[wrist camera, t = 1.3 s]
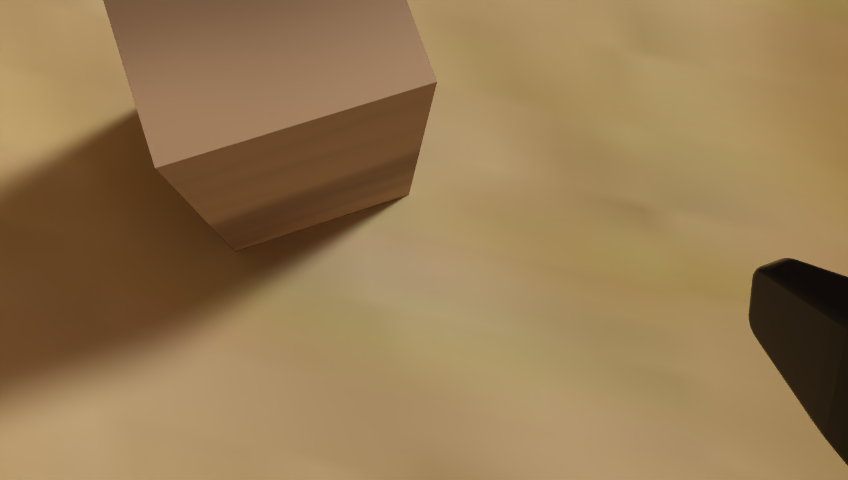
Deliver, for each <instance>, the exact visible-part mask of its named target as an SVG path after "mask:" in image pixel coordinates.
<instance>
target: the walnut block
mask: <svg viewBox="0 0 848 480" xmlns="http://www.w3.org/2000/svg"><path fill="white" fill-rule="evenodd" d="M103 1H104V4H105V7H106V11H107V14H108V17H109V20H110V24H111V27H112V30H113V33H114V37H115V40H116V43H117V46H118V50H119V53H120V56H121V59H122V63H123V66H124V69H125V72H126V76H127V79H128V82H129V85H130V89H131V92H132V95H133V98H134V102H135V105H136V108H137V111H138V115H139V118H140V121H141V124H142V128H143V131H144V134H145V138H146V141H147V144H148V147H149V151H150V154H151V157H152V160H153V164H154V167H155V169H156V170H157V171H158V172H159V173H160V174H161V175H162V176H163V177H164V178H165V179H166V180H167V181H168V182H169V183H170V184H171V185H172V187H173V188H174V189H175V190H176V191H177V192H178V193H179V194H180V195H181V196H182V197H183V198H184V199H185V200H186V201H187V202H188V203H189V204H190V205H191V206H192V207H193V208H194V209H195V210H196V212H197V213H198V214H199V215H200V216H201V217H202V218H203V219H204V220H205V221H206V222H207V223H208V224H209V225H210V226H211V227H212V228H213V229H214V230H215V231H216V232H217V233H218V234H219V235H220V237H221V238H222V239H223V240H224V241H225V242H226V243H227V244H228V245H229V246H230V247H231V248H232V249H233V250H234V251H237V250H240V249H243V248H246V247H249V246H253V245H256V244H259V243H262V242H265V241H268V240H271V239H274V238H277V237H280V236H283V235H286V234H289V233H292V232H295V231H299V230H302V229H305V228H308V227H311V226H314V225H317V224H320V223H323V222H326V221H329V220H332V219H335V218H338V217H341V216H345V215H348V214H351V213H354V212H357V211H360V210H363V209H366V208H369V207H372V206H375V205H378V204H381V203H384V202H387V201H391V200H394V199H397V198H400V197H403V196H406V195H409V192H410V187H411V183H412V179H413V175H414V171H415V167H416V163H417V159H418V155H419V151H420V147H421V143H422V139H423V135H424V131H425V127H426V123H427V119H428V115H429V111H430V107H431V103H432V99H433V95H434V91H435V87H436V83H437V81H436V78H435V76H434V73H433V70H432V68H431V65H430V62H429V59H428V57H427V54H426V51H425V49H424V46H423V43H422V41H421V38H420V35H419V33H418V30H417V27H416V25H415V22H414V19H413V17H412V14H411V11H410V9H409V6H408V3H407V1H406V0H103Z"/></svg>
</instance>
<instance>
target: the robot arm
mask: <svg viewBox="0 0 848 480" xmlns="http://www.w3.org/2000/svg"><path fill="white" fill-rule="evenodd" d="M749 323H750V326H751V329H752V331H753V334H754V335H755V337H756V338H757V340H758V341H759V343H760V344H761V346H762V347H763V349H764V350H765V352H766V353H767V355H768V356H769V358H770V359H771V361H772V362H773V363H774V365H775V366H776V368H777V369H778V371H779V372H780V374H781V375H782V377H783V378H784V380H785V381H786V383H787V384H788V386H789V387H790V388H791V390H792V391H793V393H794V394H795V396H796V397H797V399H798V400H799V402H800V403H801V405H802V406H803V408H804V409H805V411H806V412H807V413H808V415H809V416H810V418H811V419H812V421H813V422H814V424H815V425H816V426H817V428H818V429H819V430H820V432H821V433H822V435H823V436H824V437H825V439H826V440H827V441H828V442H829V444H830V445H831V446H832V447H833V448H834V450H835V451H836V452H837V453H838V455H839V456H840V457H841V458H842V459H843V461H844V462H845V463H846V464H847V465H848V277H846V276H843V275H840V274H837V273H834V272H831V271H828V270H825V269H822V268H819V267H816V266H814V265H811V264H808V263H805V262H802V261H799V260H795V259H791V258H784V259H780V260H777V261H774V262H772V263H769V264H766V265H763V266H761V267H759V268H757V269H756V271H755V272H754V274H753V278H752V288H751V297H750V307H749Z"/></svg>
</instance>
